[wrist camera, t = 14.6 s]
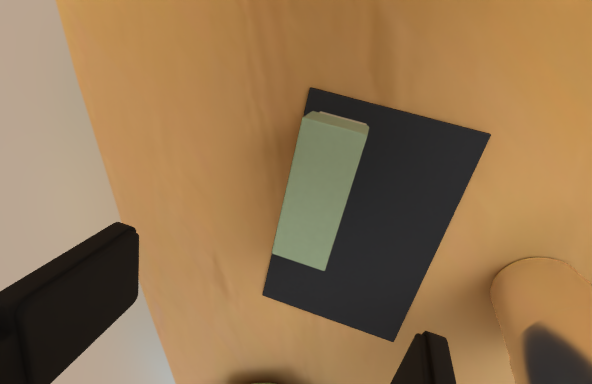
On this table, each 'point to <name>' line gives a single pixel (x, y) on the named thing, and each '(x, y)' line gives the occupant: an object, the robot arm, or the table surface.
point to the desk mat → (383, 217)
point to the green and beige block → (318, 187)
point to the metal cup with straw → (545, 321)
